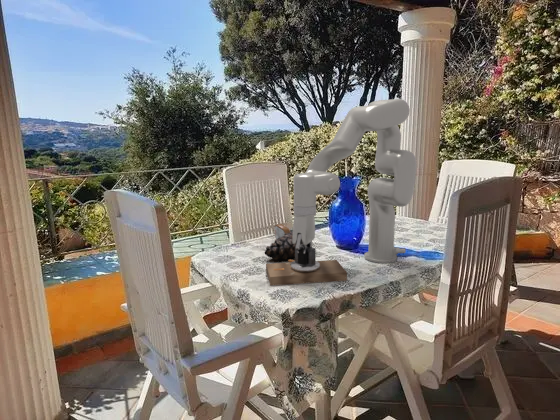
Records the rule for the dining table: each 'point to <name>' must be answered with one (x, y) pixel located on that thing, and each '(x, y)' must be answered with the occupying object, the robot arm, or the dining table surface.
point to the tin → (280, 230)
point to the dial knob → (311, 262)
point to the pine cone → (282, 249)
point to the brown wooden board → (305, 273)
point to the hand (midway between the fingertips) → (304, 261)
